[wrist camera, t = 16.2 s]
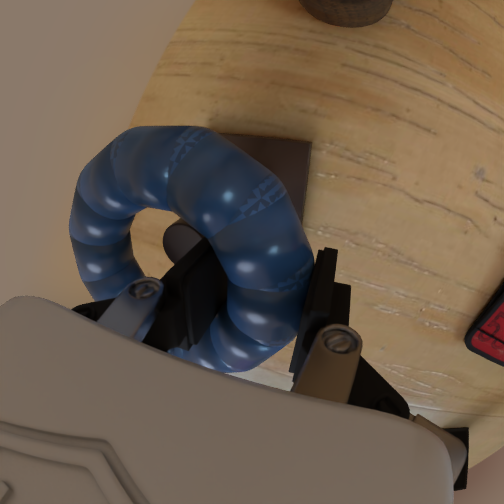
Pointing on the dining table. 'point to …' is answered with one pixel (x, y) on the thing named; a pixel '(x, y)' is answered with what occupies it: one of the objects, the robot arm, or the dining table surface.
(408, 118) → the dining table surface
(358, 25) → the mortar and pestle
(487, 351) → the ink pad
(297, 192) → the stand
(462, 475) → the speaker
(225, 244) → the blue ring
